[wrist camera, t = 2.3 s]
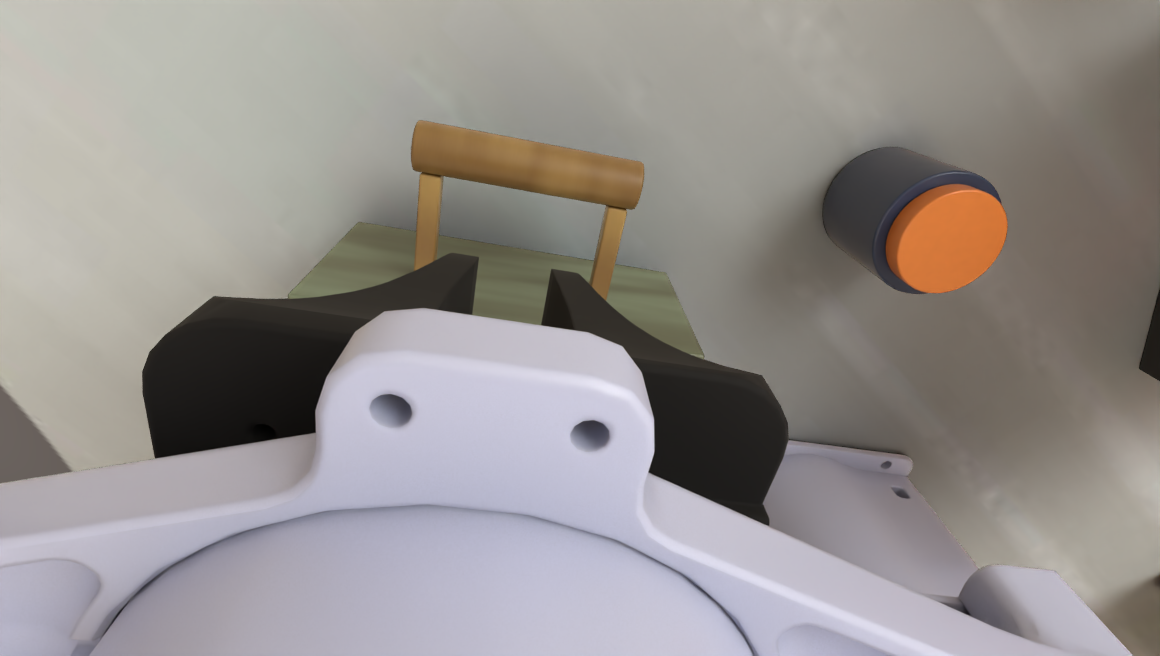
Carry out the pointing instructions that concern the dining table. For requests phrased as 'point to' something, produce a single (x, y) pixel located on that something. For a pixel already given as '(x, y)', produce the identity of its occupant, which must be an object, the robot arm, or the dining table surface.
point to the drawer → (507, 273)
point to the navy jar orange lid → (915, 220)
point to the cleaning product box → (1153, 346)
